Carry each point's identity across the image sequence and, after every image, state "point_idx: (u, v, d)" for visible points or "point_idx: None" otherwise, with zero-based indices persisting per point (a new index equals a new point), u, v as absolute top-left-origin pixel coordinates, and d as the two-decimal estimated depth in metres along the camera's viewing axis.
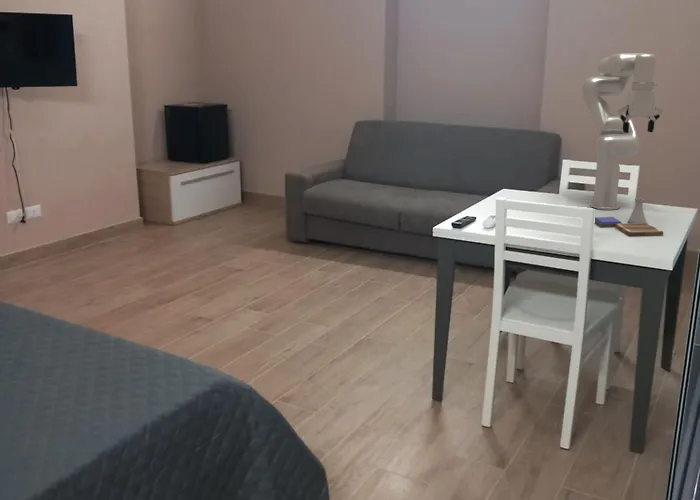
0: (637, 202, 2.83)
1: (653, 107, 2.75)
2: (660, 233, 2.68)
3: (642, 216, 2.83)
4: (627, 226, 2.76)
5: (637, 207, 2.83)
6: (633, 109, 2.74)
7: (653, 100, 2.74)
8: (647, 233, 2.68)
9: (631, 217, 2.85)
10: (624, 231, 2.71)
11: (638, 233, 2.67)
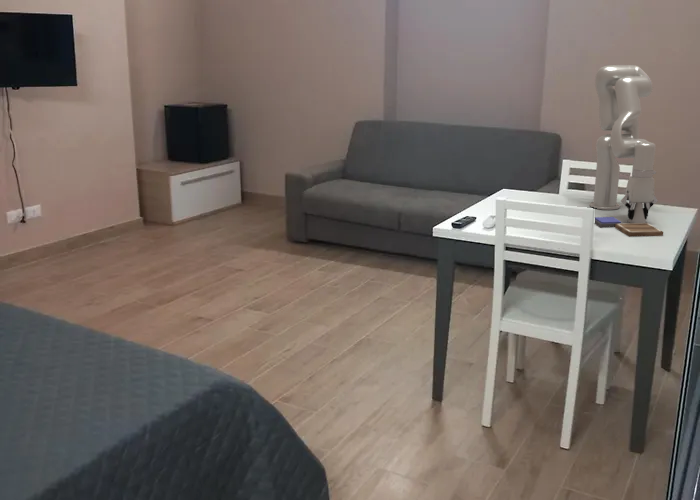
0: None
1: (653, 193, 2.81)
2: (660, 233, 2.68)
3: (642, 216, 2.83)
4: (627, 226, 2.76)
5: (637, 207, 2.83)
6: (633, 195, 2.81)
7: (653, 186, 2.80)
8: (647, 233, 2.68)
9: None
10: (624, 231, 2.71)
11: (638, 233, 2.67)
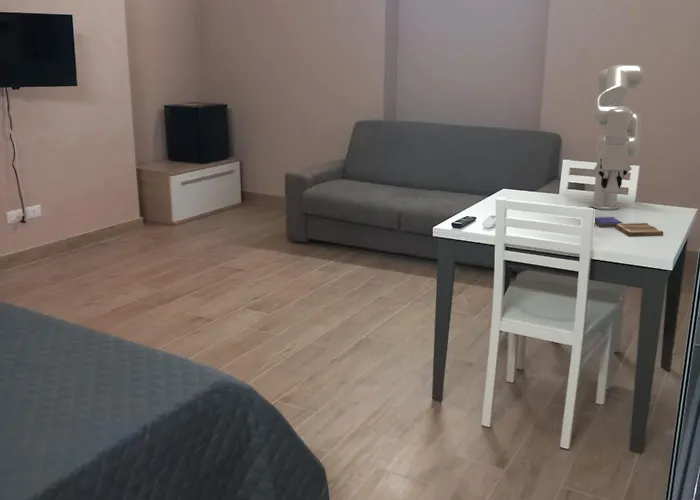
0: None
1: (626, 161, 2.76)
2: (660, 233, 2.68)
3: (616, 184, 2.78)
4: (627, 226, 2.76)
5: (610, 175, 2.78)
6: (606, 163, 2.75)
7: (626, 154, 2.75)
8: (647, 233, 2.68)
9: None
10: (624, 231, 2.71)
11: (638, 233, 2.67)
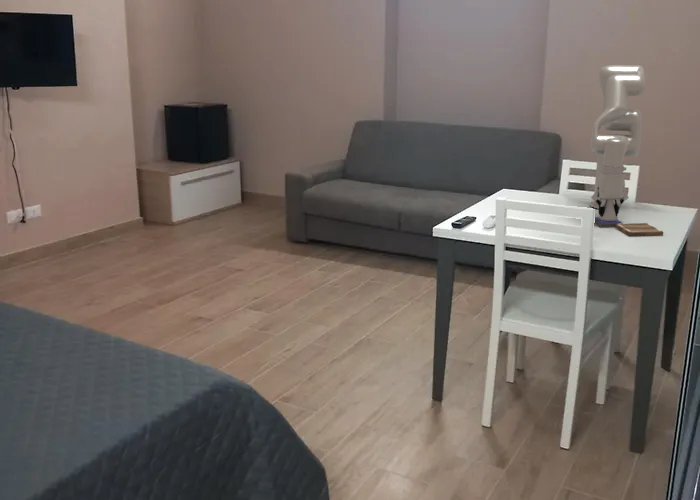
0: None
1: (623, 190, 2.79)
2: (660, 233, 2.68)
3: (613, 212, 2.81)
4: (627, 226, 2.76)
5: (608, 203, 2.81)
6: (603, 192, 2.78)
7: (623, 183, 2.78)
8: (647, 233, 2.68)
9: None
10: (624, 231, 2.71)
11: (638, 233, 2.67)
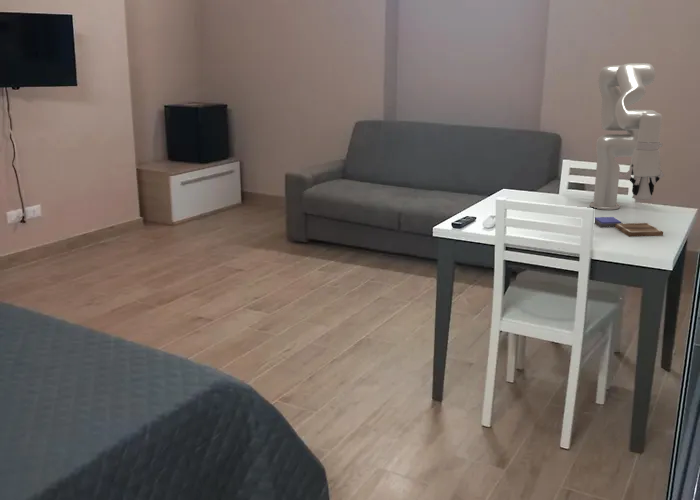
0: None
1: (659, 167, 2.65)
2: (660, 233, 2.68)
3: (648, 191, 2.67)
4: (627, 226, 2.76)
5: (642, 181, 2.67)
6: (638, 169, 2.65)
7: (659, 160, 2.64)
8: (647, 233, 2.68)
9: None
10: (624, 231, 2.71)
11: (638, 233, 2.67)
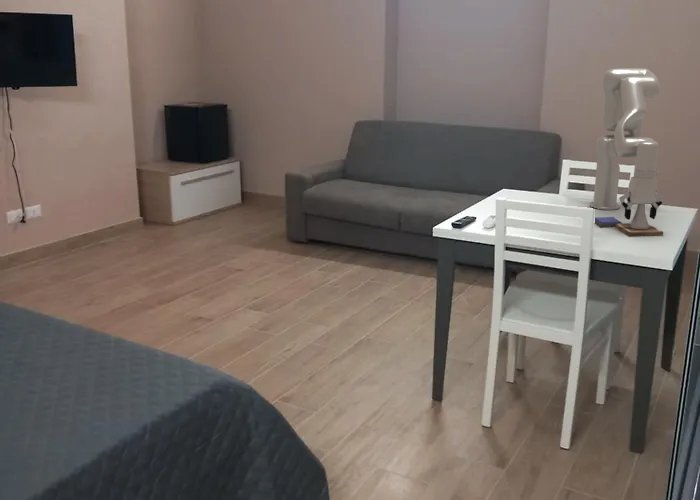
0: (639, 206, 2.71)
1: (656, 194, 2.68)
2: (660, 233, 2.68)
3: (644, 220, 2.71)
4: (627, 226, 2.76)
5: (639, 211, 2.71)
6: (635, 196, 2.68)
7: (656, 187, 2.67)
8: (647, 233, 2.68)
9: (633, 221, 2.73)
10: (624, 231, 2.71)
11: (638, 233, 2.67)
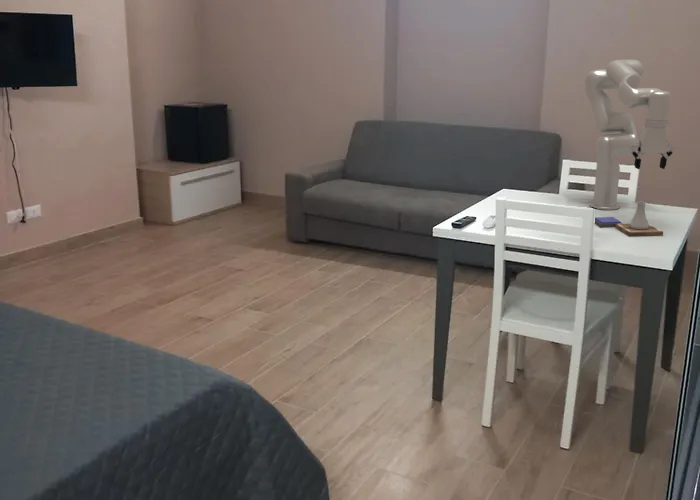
0: (639, 206, 2.71)
1: (666, 144, 2.73)
2: (660, 233, 2.68)
3: (644, 220, 2.71)
4: (627, 226, 2.76)
5: (639, 211, 2.71)
6: (645, 146, 2.73)
7: (666, 137, 2.72)
8: (647, 233, 2.68)
9: (633, 221, 2.73)
10: (624, 231, 2.71)
11: (638, 233, 2.67)
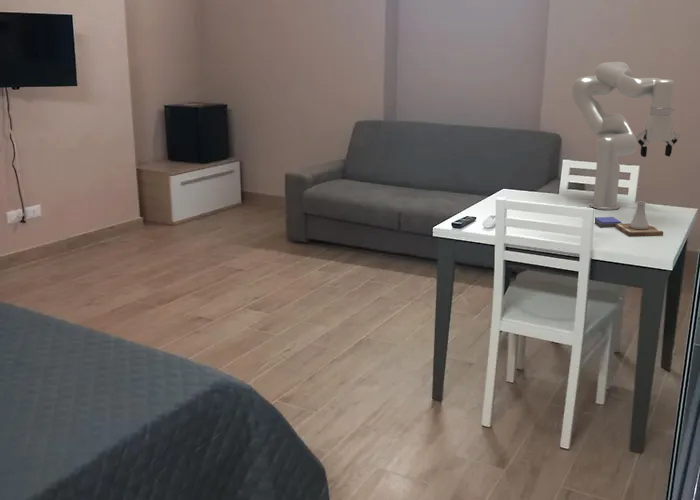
0: (639, 206, 2.71)
1: (671, 132, 2.77)
2: (660, 233, 2.68)
3: (644, 220, 2.71)
4: (627, 226, 2.76)
5: (639, 211, 2.71)
6: (651, 134, 2.77)
7: (671, 125, 2.76)
8: (647, 233, 2.68)
9: (633, 221, 2.73)
10: (624, 231, 2.71)
11: (638, 233, 2.67)
